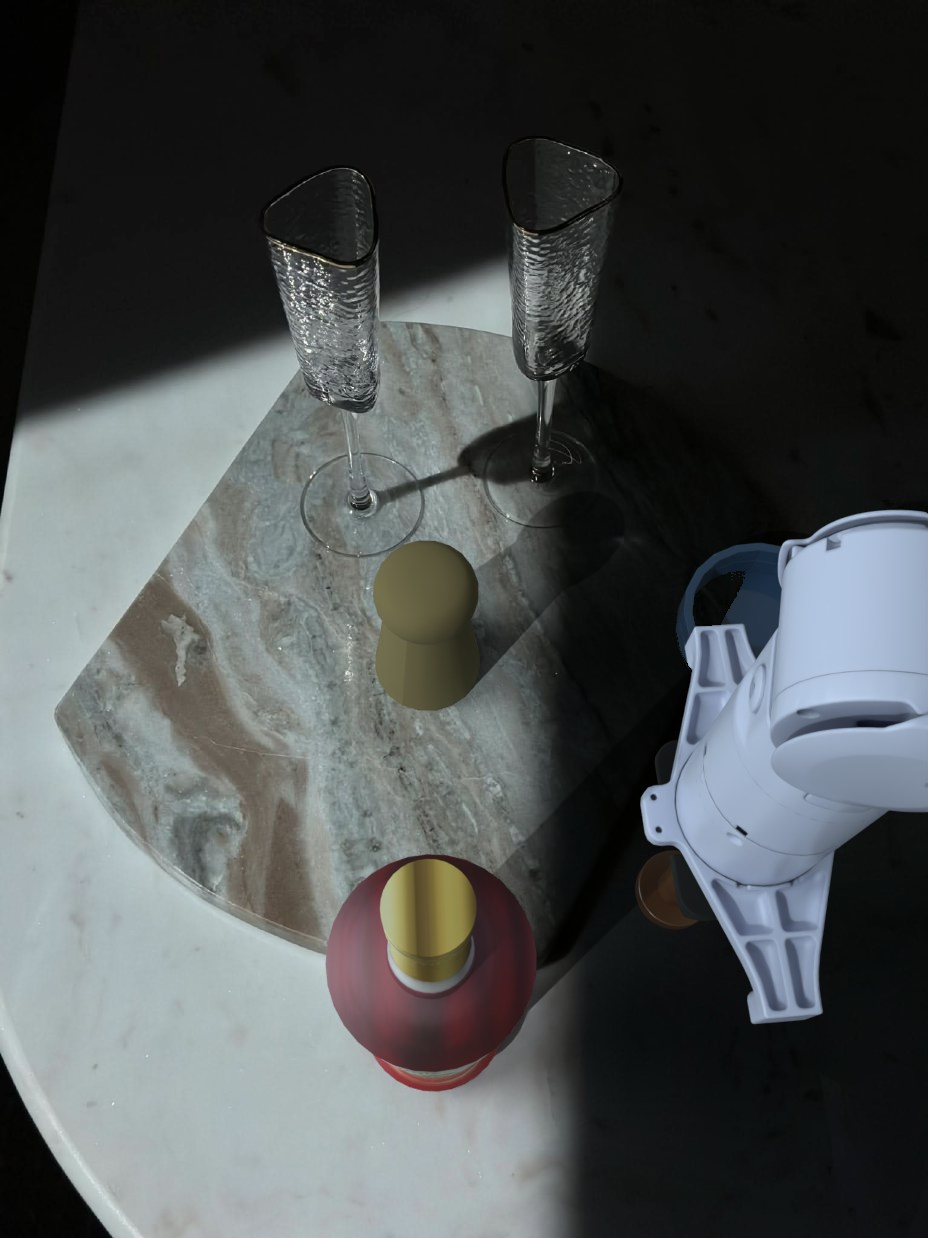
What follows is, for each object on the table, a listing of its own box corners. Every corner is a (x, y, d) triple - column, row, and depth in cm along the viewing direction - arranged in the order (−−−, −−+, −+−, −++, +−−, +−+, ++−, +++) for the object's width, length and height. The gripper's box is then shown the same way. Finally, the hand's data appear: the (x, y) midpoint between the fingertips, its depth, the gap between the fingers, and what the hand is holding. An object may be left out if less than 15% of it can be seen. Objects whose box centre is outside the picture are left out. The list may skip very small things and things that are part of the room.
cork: (429, 596, 67) (427, 498, 57) (503, 665, 65) (514, 577, 55) (352, 663, 65) (336, 574, 55) (426, 736, 63) (423, 658, 53)
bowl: (854, 610, 67) (871, 587, 64) (796, 738, 64) (812, 719, 61) (712, 543, 69) (723, 517, 66) (648, 664, 65) (657, 643, 63)
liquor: (361, 1102, 55) (293, 1056, 30) (359, 945, 58) (296, 784, 33) (513, 1094, 56) (572, 1041, 30) (503, 938, 59) (549, 773, 33)
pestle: (721, 878, 56) (779, 824, 47) (690, 944, 54) (744, 903, 45) (654, 841, 56) (698, 782, 47) (622, 906, 55) (661, 857, 46)
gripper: (636, 579, 41) (587, 713, 53) (707, 1011, 34) (632, 1049, 47) (832, 567, 41) (738, 703, 53) (935, 992, 35) (802, 1034, 47)
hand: (699, 864), depth 50 cm, fingers closed on pestle, 2 cm apart
